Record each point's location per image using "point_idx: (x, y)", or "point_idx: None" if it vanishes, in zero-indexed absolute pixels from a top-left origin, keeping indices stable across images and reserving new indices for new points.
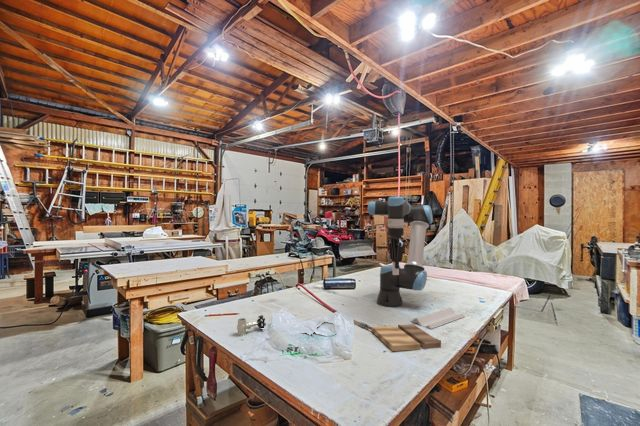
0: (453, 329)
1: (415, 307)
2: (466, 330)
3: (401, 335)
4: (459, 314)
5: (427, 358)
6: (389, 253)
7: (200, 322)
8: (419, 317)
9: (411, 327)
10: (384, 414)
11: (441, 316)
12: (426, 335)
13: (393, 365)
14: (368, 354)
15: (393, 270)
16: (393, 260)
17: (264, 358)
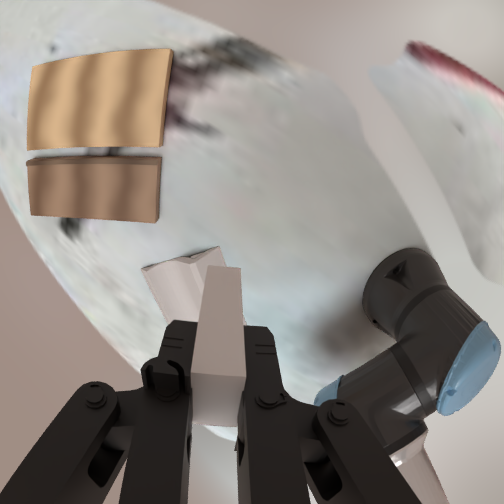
0: (134, 324)
1: (331, 341)
2: (125, 345)
3: (77, 122)
4: None
5: (4, 141)
6: (400, 475)
7: None
8: (194, 278)
9: (129, 197)
10: None
11: None
12: (67, 204)
13: (6, 52)
14: (57, 7)
15: (214, 291)
16: (245, 402)
17: None
